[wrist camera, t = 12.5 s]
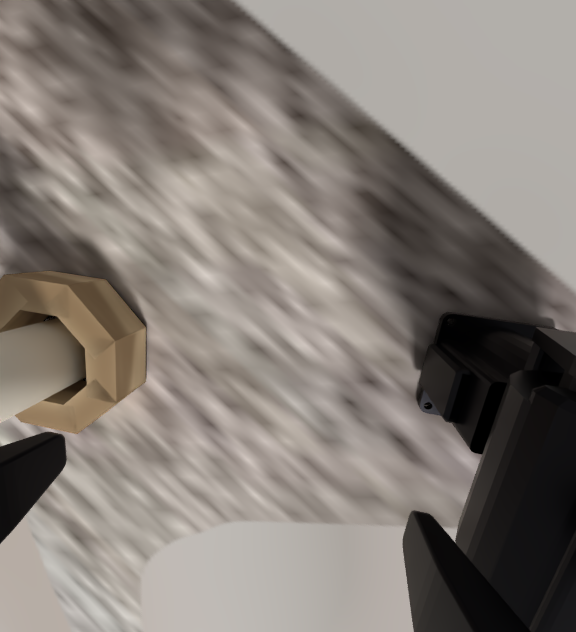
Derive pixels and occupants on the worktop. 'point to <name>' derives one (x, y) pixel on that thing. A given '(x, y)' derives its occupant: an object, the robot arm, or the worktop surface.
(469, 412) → the robot arm
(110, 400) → the tan open ring
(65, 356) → the dowel
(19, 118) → the worktop surface
